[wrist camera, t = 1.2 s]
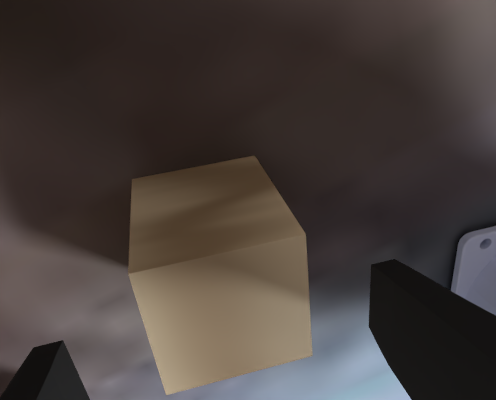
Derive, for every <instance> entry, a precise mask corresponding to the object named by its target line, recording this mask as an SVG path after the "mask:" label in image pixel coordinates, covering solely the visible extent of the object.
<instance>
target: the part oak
mask: <svg viewBox="0 0 496 400" xmlns="http://www.w3.org/2000/svg"><path fill="white" fill-rule="evenodd" d="M128 275H129V278H130V281H131V285H132V288H133V291H134V294H135V297H136V300H137V304H138V307H139V310H140V313H141V316H142V320H143V323H144V326H145V329H146V332H147V335H148V339H149V342H150V345H151V348H152V351H153V355H154V358H155V361H156V364H157V367H158V370H159V374H160V377H161V380H162V383H163V386H164V390H165V393H166V395H169V394H172V393H176V392H180V391H183V390H187V389H191V388H195V387H198V386H202V385H206V384H210V383H213V382H217V381H221V380H224V379H228V378H232V377H236V376H239V375H243V374H247V373H251V372H254V371H258V370H262V369H265V368H269V367H273V366H277V365H280V364H284V363H288V362H292V361H295V360H299V359H303V358H306V357H310V356H312V339H311V320H310V302H309V283H308V264H307V246H306V234H305V232H304V230H303V229H302V227H301V226H300V224H299V223H298V221H297V220H296V218H295V217H294V215H293V214H292V212H291V210H290V209H289V207H288V206H287V204H286V203H285V201H284V200H283V198H282V197H281V195H280V194H279V192H278V191H277V189H276V187H275V186H274V184H273V183H272V181H271V180H270V178H269V177H268V175H267V174H266V172H265V171H264V169H263V167H262V166H261V164H260V163H259V161H258V160H257V158H256V157H255V155H254V156H249V157H244V158H239V159H234V160H228V161H223V162H218V163H213V164H208V165H202V166H197V167H192V168H187V169H182V170H177V171H171V172H166V173H161V174H156V175H151V176H146V177H140V178H135V179H132V189H131V215H130V241H129V267H128Z"/></svg>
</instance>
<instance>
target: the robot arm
mask: <svg viewBox="0 0 496 400" xmlns="http://www.w3.org/2000/svg"><path fill="white" fill-rule="evenodd" d="M369 328H370V330H371V332H372V334H373V336H374V338H375V340H376V342H377V344H378V346H379V348H380V350H381V352H382V354H383V355H384V357H385V359H386V361H387V363H388V365H389V366H390V368H391V369H392V371H393V372H394V374H395V375H396V377H397V378H398V380H399V381H400V383H401V384H402V386H403V387H404V389H405V390H406V392H407V393H408V395H409V396H410V398H411V399H412V400H496V226H493V227H489V228H485V229H481V230H476V231H472V232H469V233H467V234H465V235H464V236H462V238H461V239H460V240H459V243H458V248H457V254H456V261H455V267H454V273H453V280H452V286H451V291H450V290H448V289H447V288H445V287H443V286H441V285H440V284H438V283H436V282H434V281H433V280H431V279H429V278H427V277H426V276H424V275H422V274H421V273H419V272H417V271H415V270H414V269H412V268H410V267H408V266H406V265H405V264H403V263H401V262H399V261H397V260H395V259H393V260H389V261H385V262H380V263H376V264H372V265H371V284H370V310H369ZM0 400H90V399H89V396H88V394H87V392H86V390H85V388H84V385H83V383H82V381H81V379H80V377H79V375H78V372H77V370H76V368H75V366H74V364H73V361H72V359H71V357H70V355H69V353H68V350H67V348H66V346H65V344H64V342H63V340H62V341H58V342H54V343H50V344H46V345H42V346H38V347H34V348H33V349H32V351H31V352H30V353H29V355H28V356H27V358H26V359H25V361H24V362H23V364H22V365H21V367H20V368H19V370H18V371H17V373H16V374H15V376H14V377H13V379H12V380H11V382H10V383H9V385H8V386H7V388H6V390H5V391H4V393H3V394H2V396H1V397H0Z"/></svg>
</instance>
